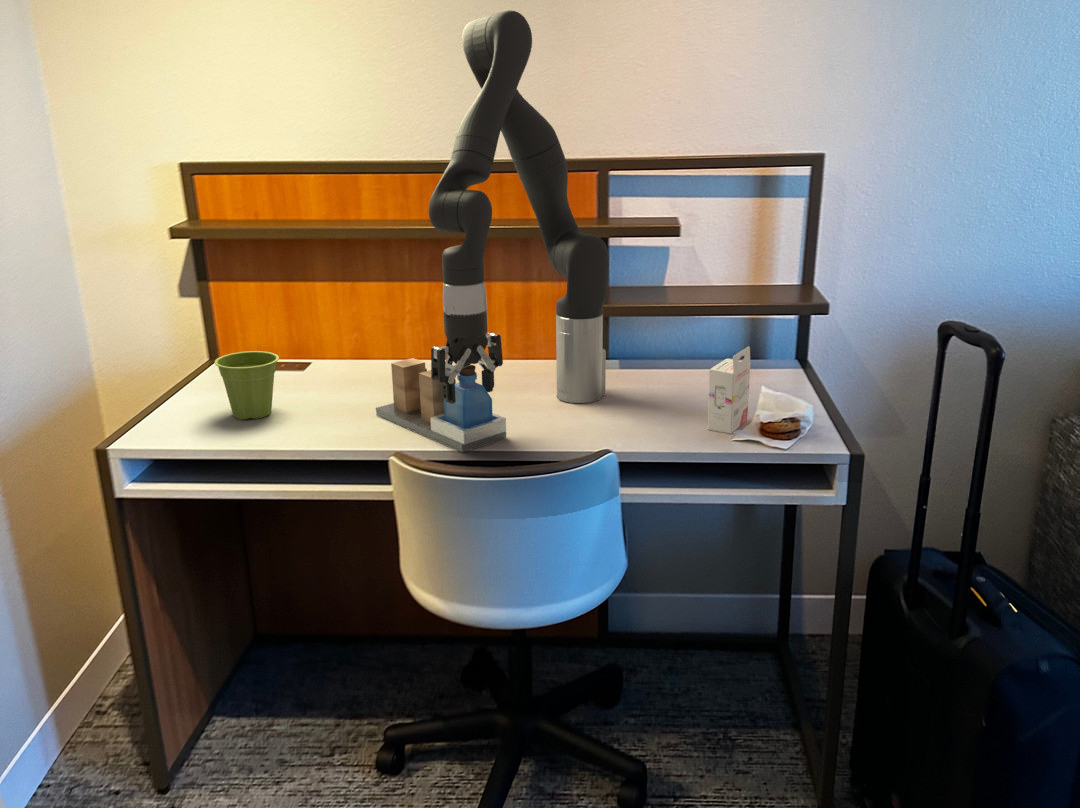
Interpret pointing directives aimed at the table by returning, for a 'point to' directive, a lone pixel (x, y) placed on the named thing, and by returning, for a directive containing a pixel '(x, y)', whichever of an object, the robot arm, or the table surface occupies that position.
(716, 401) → the ink cartridge box
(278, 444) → the table surface
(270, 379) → the plant pot
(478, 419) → the perfume bottle
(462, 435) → the grey rectangular tray
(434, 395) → the walnut finger front
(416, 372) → the walnut finger rear
